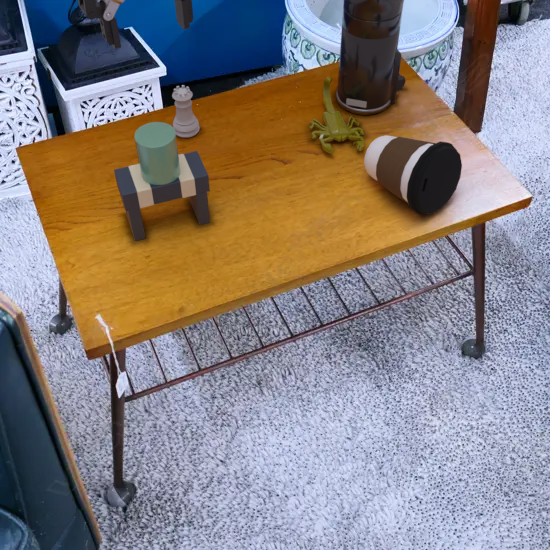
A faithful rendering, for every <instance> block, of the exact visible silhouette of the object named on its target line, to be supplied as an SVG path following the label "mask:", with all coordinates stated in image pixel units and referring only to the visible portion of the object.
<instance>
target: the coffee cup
mask: <svg viewBox="0 0 550 550" xmlns="http://www.w3.org/2000/svg"><path fill="white" fill-rule="evenodd" d="M363 159H364V161H363V166H364V169H365V171H366V173H367V174H368V175H369V176H370V177H371V178H372V179H374V180H375V181H377V183H379V185H381V186H382V187H383V188H384V189H386V191H388V192H390V193H391V194H393V195H394V196H395V197H397V198H399V200H402V201H403V202H404V203H406V204H407V205H408V208H410V210H411V211H412V212H414V213H415V214H416V215H432V214H434V213H436V212H438V211H440V210H441V209H442V208H444V206H446V205H447V203H449V201H450V200H451V198H452V197H453V195H454V194H455V192H456V190H457V189H458V188H457V187H458V184H459V182H460V179H461V174H462V167H463V163H462V157H461V154H460V153H459V152H458V150H457V149H456V147H455V146H454V144H452V143H450V142H447V141H438V142H431V141H425V140H420V139H414V138H411V137H405V136H404V137H403V136H392V135H381V136H378V137H376V138H375V139H374V140H373V141H372V142H370V144H369V146H368V148H367V149H366V151H365V155H364V158H363Z"/></svg>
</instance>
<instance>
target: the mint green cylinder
mask: <svg viewBox="0 0 550 550" xmlns="http://www.w3.org/2000/svg"><path fill="white" fill-rule="evenodd" d="M133 137H134V144H135V148H136V149H135V150H136V154H137V159H138V164H139V165H140V171H141V176H142V178H143V179H144V180H145V181H146V182H147V183H150V184H153V185H165V184H169V183H171V182H173V181H175V180H176V179H177V178H178V177H179V175H180V163H179V155H180V154H179V149H178V141H177V135H176V132H175V129H174V128H173V125H171V124H169V123H167V122H163V121H152V122H148V123H144V124H143V125H141V126H139V127H138V128H137V129H136V131H135V132H134V136H133Z"/></svg>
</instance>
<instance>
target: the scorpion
mask: <svg viewBox="0 0 550 550" xmlns="http://www.w3.org/2000/svg"><path fill="white" fill-rule="evenodd" d="M332 82H333V77H332V76H328V77H326V78H324V79H323V82H322V98H323V99H322V100H323V105H324V108H325V110H326V111H324V112H323V114H322V119H323V122H324V125H323V124H322V123H321V122H320V121H319V120H317V119H315V118H312V120H311V121H309V125H308V129H309V130H310V131H311V134H310V135H311V139H312V140H316V139H317V136H319V138H318V141H319V143H320V144H321V145H320V146H321V149H322V150H323V151H324V152H327V153H328V154H334V153H335V149H334V147H332V145H331V143H328V142H333V141H337V142H344V141H346V140H349V141H350V140H353V143H352V146H354V145H355V146H356V151H358V152H360V151H363V149H364V148H365V140H364V138H363V136H365V132H364V129H363V128H362V127H359V126H360V122H359V121H358V122H357V121H356V118H355V117H353V116H352V115H350V116H349V118H348V122H347V124H346V122H345V119H344V117H343V115H342V111H340V110H335V107H334V105H333V103H332V97H331V83H332ZM353 125H355V126H356V127H353ZM314 128H318V130H313V129H314ZM354 140H355V141H354Z"/></svg>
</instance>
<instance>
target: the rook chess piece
mask: <svg viewBox="0 0 550 550" xmlns="http://www.w3.org/2000/svg"><path fill="white" fill-rule="evenodd" d="M193 95H194V93H193V91H191V89H190V87H189V86H186V85H185V84H182V85H181V87H180V85H176V87H175V88H173V92H172V94H171V97H172V99H173V100H175V101H174V103H173V104H174V106H175V107H176V108H175V116H174V119H173V121H172V127H173V128H174V129H175V132H176V137H179V138H182V139H189V138H193V137H194V136H196V135H197V134H198V133H199V132H200V129H201V126H200V123H199V119H198V118H197V117H196V115H195V114H194V112H193V108H192V104H193V101H192V100H191V99H192V98H193Z"/></svg>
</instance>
